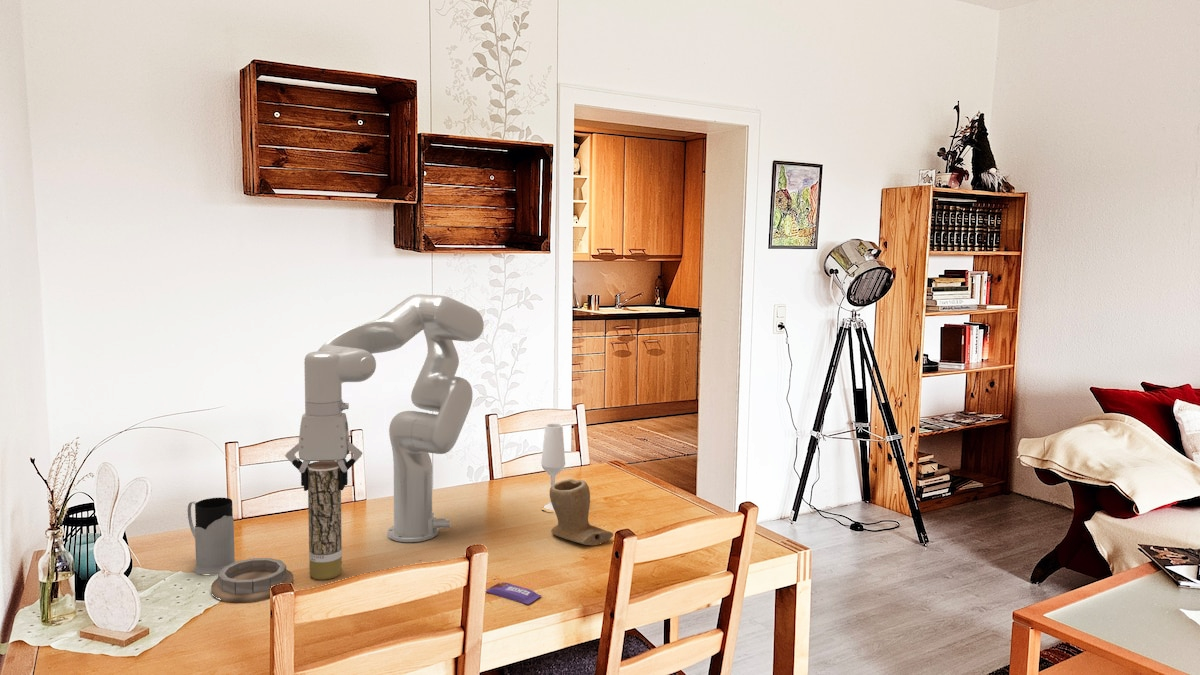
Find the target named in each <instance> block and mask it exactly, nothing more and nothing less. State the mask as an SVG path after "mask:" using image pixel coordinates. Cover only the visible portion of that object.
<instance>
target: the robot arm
mask: <svg viewBox="0 0 1200 675" xmlns="http://www.w3.org/2000/svg"><path fill="white" fill-rule="evenodd" d="M484 326H485V324H484V319H483V316H482V314H481V312H479V310H477V309H476V308H473V307H472V306H469V305H466V304H465V303H462V302H461V301H458V300H456V299H454V298H451V297H448V296H445V295H438V294H437V295H435V294H424V293H423V294H421V293H419V294H418V293H417V294H412V295H409V296H407V297H406V298H405V299H403V300H402V301H401V302H400V303H398V304H396V305H395V306H394V307H393V308H391V309H389V310H388V311H386V313H385V314H383V315H381V316H380V317H379V318H376V319H374V320H371V321H368V322H365V323H363V324H361V325H357V326H355V327H352V328H349V329H347V330H344V331H343V332H340V333H338V334H337V335H334V336H333V337H332V338H330V339H329V340H328V341H327V342H324V344H322V345H321V346H320V348H319V349H318V350H317V351H316V350H315V351H311V352H309V353H307V354H306V355H305V357H304V362H303V363H304V364H303V365H304V409H305V410H304V413H302V416H301V420H300V426H299V427H300V428H299V434H298V435H299V436H298V443H297V444H296V445H295V446H293V447H292V448H291V449H290V450H288V451H287V452H286V453H285V454H284V456H285V458H286V459H287V460H288V461H289V462H290V463H291V464H292V465H293V466H294V467H295V468H296V469H297V470H298V472H299V473H300V486H301V487H303V491H304V492H308V465H309V464H310V463H311V462H317V461H337V463H338V465H339V467H340V468H341V471H340V473H339V490H341V491H343V490H344V488H346V486H348V483H349V482H348V481H349V480H348V474H349V472H348V470H350V469H351V467H352V466H354V464H356V462H357V461H358V460H359V459H360V458H361V457H362V456H363V452H362V450H360V449H359V448H358V447H356V446H355V444H353V443H351V441H350V433H349V432H350V431H349V424H348V417H347V414H346V413H345V412H343V411H345V410H349V408H350V407H349V406H350V405H349V402H348V403H347V402H344V401H343V398H342V394H343V393H342V384H344V383H361V382H364V381H367V380H368V379H370V378H371V377H372V376H373V375H374V374H375V371H376V368H377V362H376V358H375V356H374V355H373V354H378V353H380V354H381V353H387V352H391V351H396V350H398V349H400V348H402V347H403V346H404V345H406V344H407V343H408V342H409V341H410V340H411V339H413V338H414V337H416V336H417V335H418V334H419V333H420V332H422V331H423V333H424V337H425V340H426V344H427V345H426V346H427V354H426V358H425V360H424V362H423V365H422V368H421V369H420V371H419V373H418V377H417V378H416V380H415V383H414V385H413V388H412V391H411V396H410V399H411V402H412V404H413V405H414V407H417V408H418V409H420V410H425V412H423V411H417V410H403V411H401V412H397V414H395V415H394V416H393V417H392V419H391V421H390V423H389V428H388V432H389V433H388V434H389V439H390V440H389V441H390V444H391V445H390V446H391V450H392V460H393V525H392V526H390V527H389V528H388V529H387V537H388V538H389V539H390V540H393V541H396V542H401V543H418V542H419V543H420V542H423V541H428V540H430V539H432V538H435V537H436V536H438V535H439V528H443V529H447V528H451V520H450V519H446V517H439V518H437V516H435V512H433V462H432V458H431V456H430V454H436V455H444V454H447V453H449V452H450V451H451V450H452V449H453V448H454V446H455V445H456V443H457V441H458V439H459V436H460V434H461V432H462V430H463V427H464V424H465V422H466V419H467V417H468V415H469V412H470V409H471V406H472V403H473V396H474V395H473V394H474V393H473V389H472V385H471V384H470V382H469V381H468V380H467V379H465V378H463V377H461V376H456V374H457V371H458V367H459V364H460V359H459V354H458V351H457V348H456V346H455V345H454V344H455V343H454V341H457V342H466V343H467V342H474V341H476V340H477V339H479V338H480V337H481V335H482V333H483V331H484ZM426 411H429V412H433V413H428V412H426ZM434 412H435V413H436V412H437V413H436V414H435V413H434ZM296 453H298V457H299V458H298V457H297V456H296ZM350 453H351V454H352V457H351V458H350V459H349V460H347V456H348V455H349V454H350Z"/></svg>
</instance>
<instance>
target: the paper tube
mask: <svg viewBox="0 0 1200 675" xmlns="http://www.w3.org/2000/svg"><path fill="white" fill-rule="evenodd" d="M340 471H341V468H340V467H339V465H338V463H337V461H312V462H310V463H309V465H308V490H307V493H308V494H307V499H308V501H307V503H308V509H307V510H308V558H309V559H308V560H309V561H308V562H309V565H308V566H309V575H310V577H311V578H312V579H315V580H322V581H323V580H331V579H334V578H336V577H338V576H340V574H341V573H342V570H343V563H342V562H343V561H342V560H343V556H342V555H343V553H342V552H343V551H342V550H343V549H342V548H343V547H342V490H339V473H340Z"/></svg>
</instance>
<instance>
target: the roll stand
mask: <svg viewBox="0 0 1200 675" xmlns="http://www.w3.org/2000/svg"><path fill="white" fill-rule="evenodd" d="M280 583H292V584H294V574H293V573H292V572H291V571H290V570H289V569H287V565H286V563H285V562H284V561H283V560H281V559H276V558H271V557H253V558H248V559H243V560H238V561H236V562H234V563H232V564H230V565H228V566H225V567H224V568H222V570H221V571H220V572H219V573H218V575H217V578H216V579H215V580H214V581H213V582H212V584H211V586H210V587H211V588H210V589H211V590H210V591H211V595H212V594H213V595H214V596H215V597H217V598H220V599H221V600H222V601H221V602H224V603H232V604H246V603H248V604H249V603H253V602H260V601H265V600H269V599H271V598H270V588H271V586H273V585H277V584H280Z"/></svg>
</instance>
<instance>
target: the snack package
mask: <svg viewBox="0 0 1200 675" xmlns="http://www.w3.org/2000/svg"><path fill="white" fill-rule="evenodd" d="M486 590H487V591H485V592H486V593H488V594H490V595H493V596H498V597H500V598H503V599H506V600H510V601H513V602H517V603H520V604H524V605H525V604H526V605H529V604H531V603H533V602H534V601H536V600H537V599H539V598H541V597H542V595H541V594H538V593H537V592H535V591H534V590H532V589H530V588H526V587H522V586H519V585H515V584H513V583H512V584H511V583H509V582H501V583H500V582H497V584H495V585H493V586H491V587H489V588H487V589H486Z"/></svg>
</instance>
